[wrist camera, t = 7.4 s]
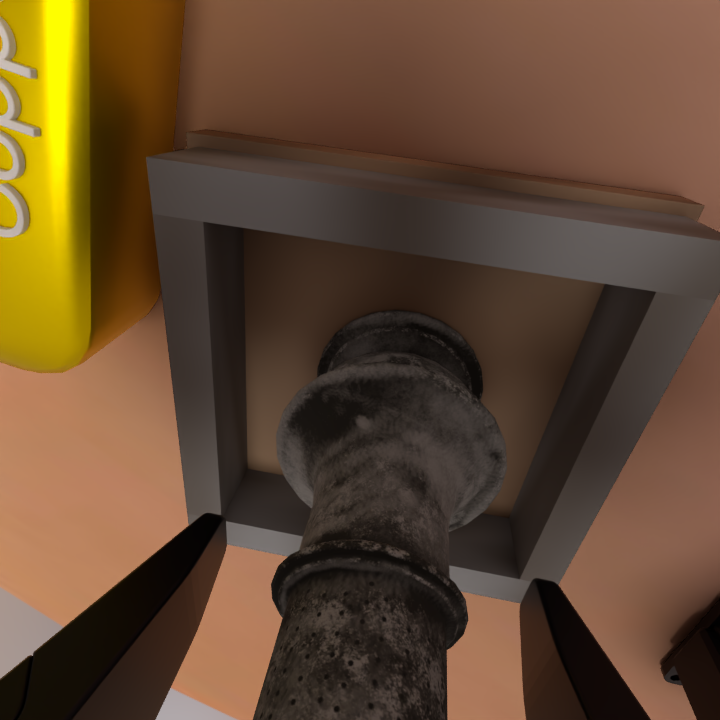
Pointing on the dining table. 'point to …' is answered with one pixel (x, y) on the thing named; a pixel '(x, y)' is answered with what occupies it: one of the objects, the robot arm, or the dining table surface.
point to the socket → (432, 298)
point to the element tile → (80, 171)
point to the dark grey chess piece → (379, 521)
